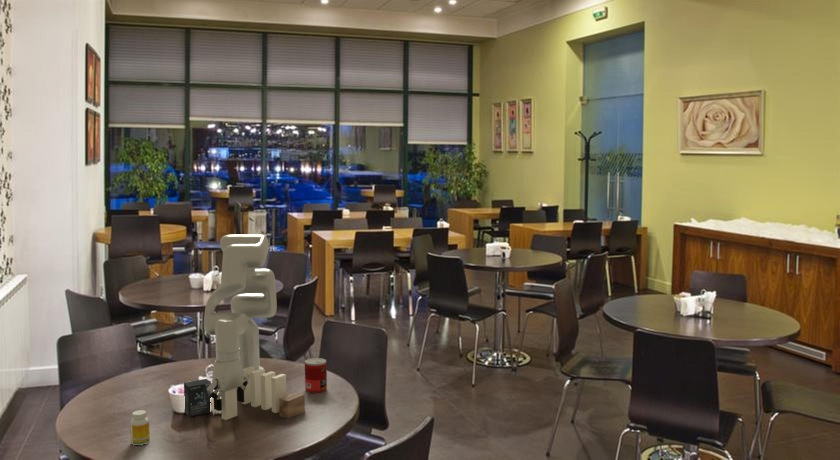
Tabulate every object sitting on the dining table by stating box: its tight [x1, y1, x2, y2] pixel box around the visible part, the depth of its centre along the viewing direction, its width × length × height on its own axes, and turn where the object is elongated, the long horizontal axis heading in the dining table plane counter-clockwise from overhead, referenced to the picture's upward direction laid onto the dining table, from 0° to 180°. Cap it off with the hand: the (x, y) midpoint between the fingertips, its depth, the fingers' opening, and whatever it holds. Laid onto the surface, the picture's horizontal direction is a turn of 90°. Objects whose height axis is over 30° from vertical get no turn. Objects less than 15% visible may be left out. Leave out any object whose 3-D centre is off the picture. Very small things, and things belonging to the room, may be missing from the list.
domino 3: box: [250, 369, 266, 408], centre depth 265 cm, size 2×5×12 cm, turn 146°
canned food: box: [304, 357, 328, 394], centre depth 281 cm, size 8×8×11 cm
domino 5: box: [271, 373, 287, 414], centre depth 260 cm, size 2×5×12 cm, turn 146°
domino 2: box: [240, 366, 255, 405], centre depth 268 cm, size 2×5×12 cm, turn 146°
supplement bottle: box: [129, 409, 151, 446], centre depth 232 cm, size 5×5×10 cm
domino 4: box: [260, 371, 276, 411], centre depth 262 cm, size 2×5×12 cm, turn 146°
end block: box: [278, 391, 306, 419], centre depth 257 cm, size 4×8×6 cm, turn 146°
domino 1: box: [220, 388, 238, 421], centre depth 253 cm, size 2×5×12 cm, turn 146°
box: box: [183, 378, 212, 418], centre depth 257 cm, size 8×6×11 cm
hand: (229, 405), depth 253 cm, fingers open, 9 cm apart
